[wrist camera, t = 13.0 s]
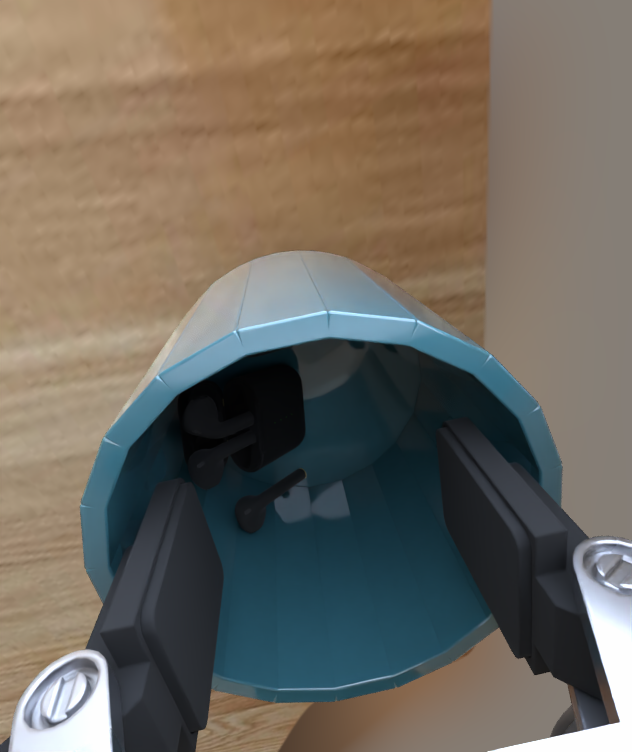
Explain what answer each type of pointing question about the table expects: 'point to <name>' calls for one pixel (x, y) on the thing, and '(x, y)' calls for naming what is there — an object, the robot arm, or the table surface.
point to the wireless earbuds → (244, 431)
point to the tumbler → (324, 478)
